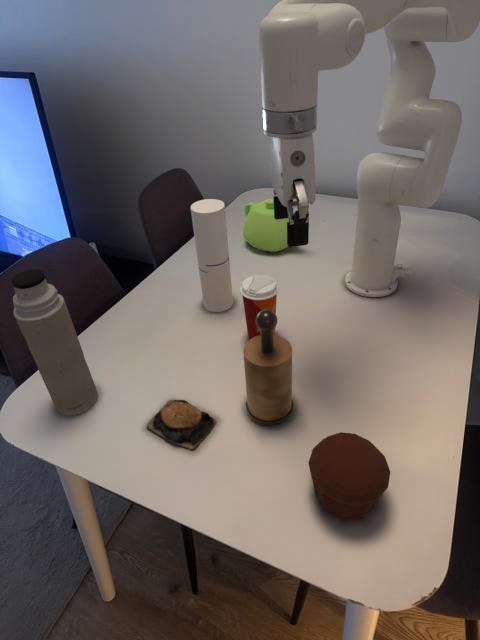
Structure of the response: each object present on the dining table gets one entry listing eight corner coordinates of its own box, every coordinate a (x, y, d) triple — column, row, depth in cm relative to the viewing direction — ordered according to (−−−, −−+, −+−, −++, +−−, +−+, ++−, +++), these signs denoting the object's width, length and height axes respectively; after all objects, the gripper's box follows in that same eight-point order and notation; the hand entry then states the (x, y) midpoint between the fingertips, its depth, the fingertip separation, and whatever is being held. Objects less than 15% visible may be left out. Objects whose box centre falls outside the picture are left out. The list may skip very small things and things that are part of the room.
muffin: (302, 463, 74) (303, 422, 68) (370, 457, 74) (377, 415, 68) (316, 535, 65) (319, 494, 59) (394, 527, 65) (405, 486, 59)
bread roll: (143, 430, 82) (139, 416, 79) (173, 399, 87) (170, 385, 85) (191, 454, 77) (188, 440, 75) (219, 420, 82) (217, 406, 80)
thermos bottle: (51, 418, 85) (-8, 292, 68) (60, 387, 92) (8, 265, 75) (94, 413, 86) (46, 287, 69) (100, 382, 92) (58, 260, 75)
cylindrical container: (229, 313, 108) (220, 213, 93) (200, 311, 109) (186, 212, 94) (235, 295, 113) (227, 199, 98) (207, 294, 115) (195, 198, 100)
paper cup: (268, 353, 96) (266, 298, 87) (237, 342, 99) (232, 288, 91) (285, 332, 101) (285, 278, 92) (255, 322, 104) (252, 269, 96)
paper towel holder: (287, 387, 88) (287, 292, 75) (298, 422, 81) (300, 324, 68) (243, 393, 87) (235, 299, 74) (249, 429, 80) (242, 332, 67)
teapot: (321, 244, 131) (323, 200, 124) (290, 266, 123) (290, 221, 115) (261, 225, 144) (259, 184, 136) (229, 244, 135) (225, 201, 127)
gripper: (335, 133, 57) (328, 254, 68) (300, 101, 71) (299, 206, 81) (275, 141, 57) (278, 261, 67) (252, 107, 70) (258, 211, 81)
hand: (290, 230), depth 74 cm, fingers open, 9 cm apart
